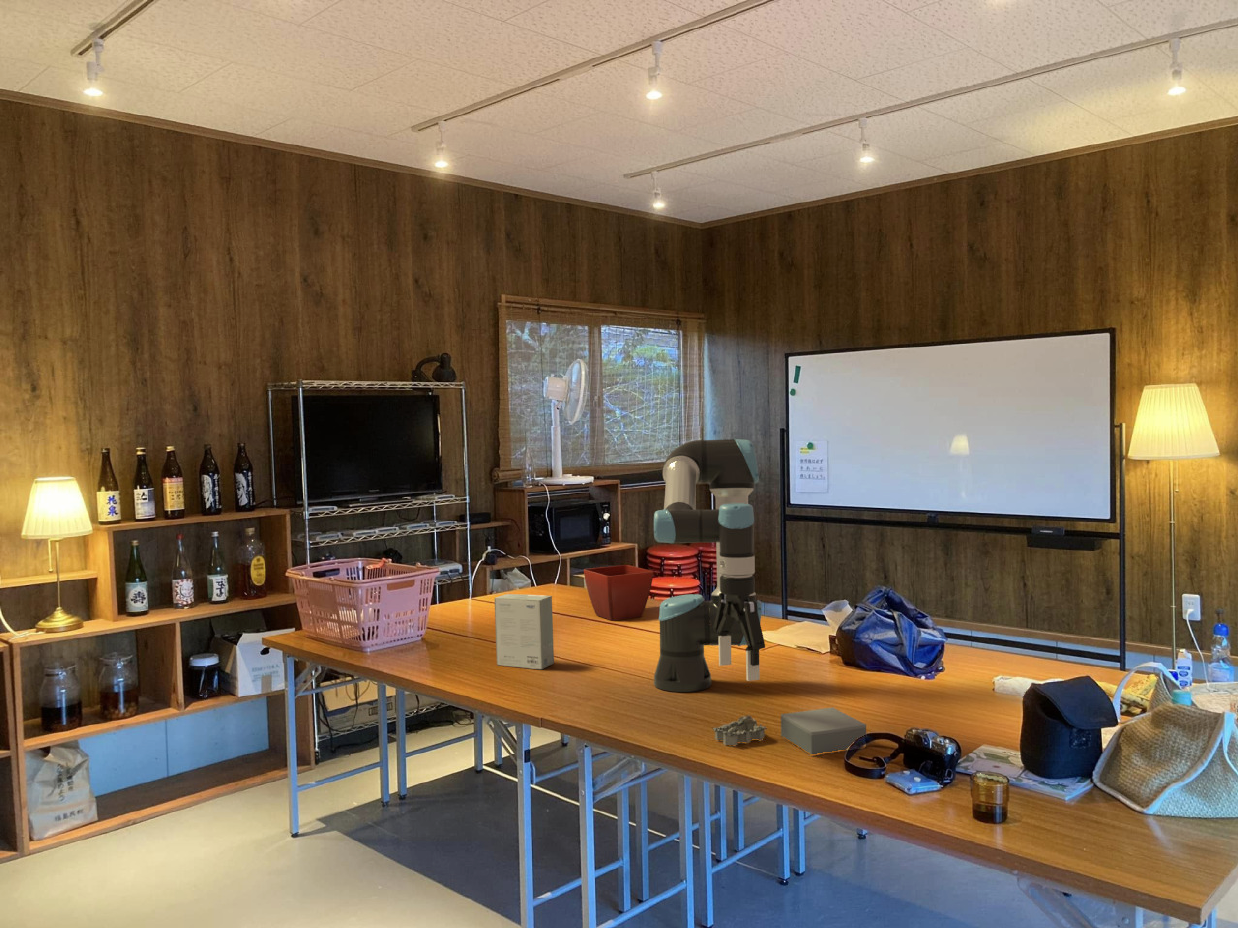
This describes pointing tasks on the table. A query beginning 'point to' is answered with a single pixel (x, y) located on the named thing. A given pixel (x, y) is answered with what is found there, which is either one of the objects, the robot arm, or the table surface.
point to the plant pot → (618, 591)
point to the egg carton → (740, 731)
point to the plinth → (821, 730)
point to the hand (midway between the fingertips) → (738, 672)
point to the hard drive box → (524, 631)
